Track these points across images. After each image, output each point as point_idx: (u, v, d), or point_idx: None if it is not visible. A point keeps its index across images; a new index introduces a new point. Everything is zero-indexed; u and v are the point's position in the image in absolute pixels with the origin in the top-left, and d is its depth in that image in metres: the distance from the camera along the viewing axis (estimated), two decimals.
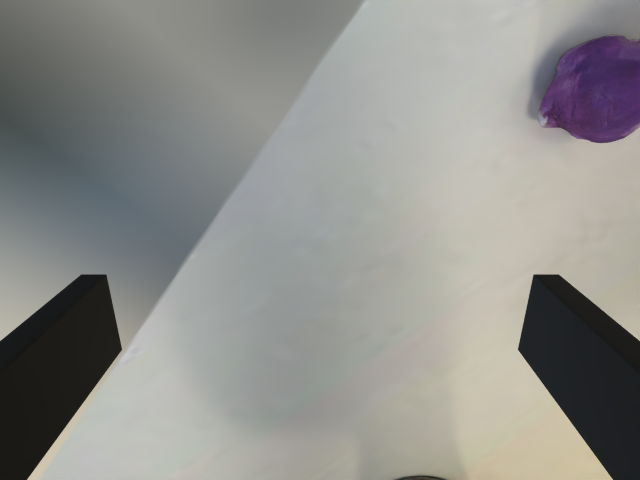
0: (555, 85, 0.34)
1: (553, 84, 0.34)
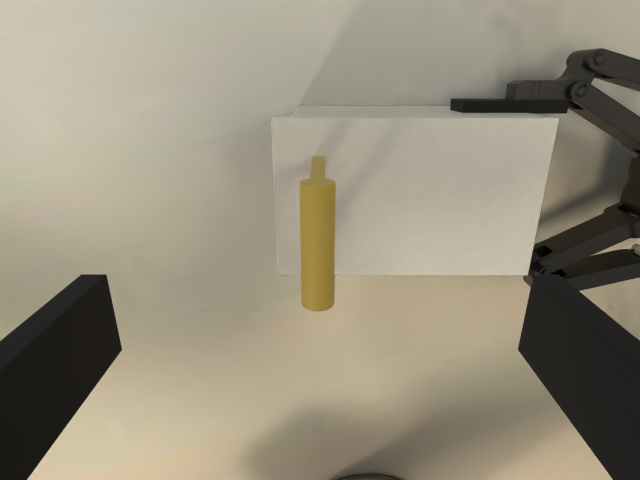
0: None
1: None
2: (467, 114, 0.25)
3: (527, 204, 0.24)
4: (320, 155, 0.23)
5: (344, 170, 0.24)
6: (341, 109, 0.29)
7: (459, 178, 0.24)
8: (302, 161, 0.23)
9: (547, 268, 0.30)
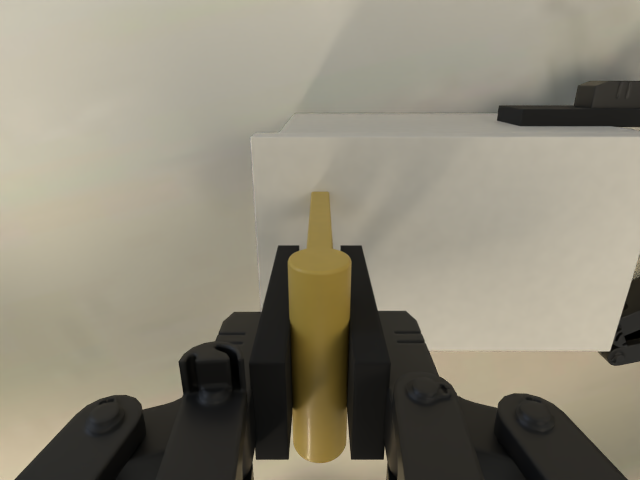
0: None
1: None
2: (531, 129, 0.17)
3: (617, 257, 0.17)
4: (323, 190, 0.16)
5: (357, 211, 0.16)
6: (350, 119, 0.22)
7: (523, 222, 0.17)
8: (297, 198, 0.16)
9: (622, 329, 0.23)
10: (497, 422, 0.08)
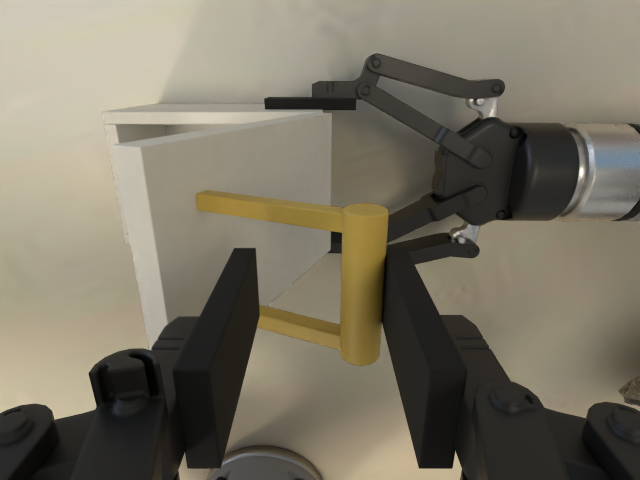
0: None
1: None
2: (261, 110, 0.28)
3: (326, 190, 0.28)
4: (202, 189, 0.16)
5: None
6: (176, 106, 0.33)
7: (297, 180, 0.24)
8: (185, 204, 0.16)
9: None
10: (586, 428, 0.07)
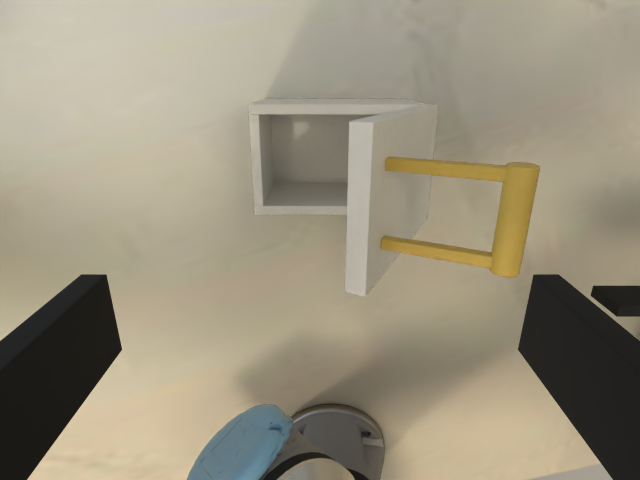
0: None
1: None
2: (375, 103, 0.35)
3: None
4: (388, 155, 0.23)
5: None
6: None
7: (420, 156, 0.30)
8: (382, 165, 0.22)
9: None
10: None
